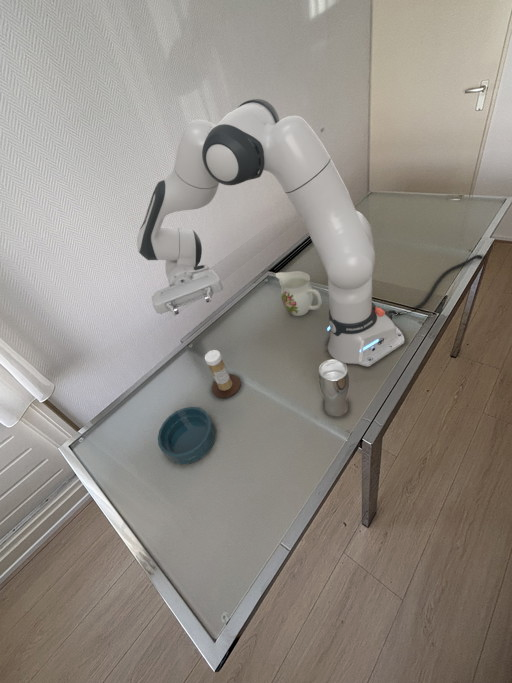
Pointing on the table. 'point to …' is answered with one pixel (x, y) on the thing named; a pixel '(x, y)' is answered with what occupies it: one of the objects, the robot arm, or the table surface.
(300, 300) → the pitcher
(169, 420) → the bowl
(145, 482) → the table surface
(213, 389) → the coaster
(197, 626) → the table surface
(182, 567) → the table surface
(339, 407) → the silver metal tumbler
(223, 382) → the sprinkles bottle
